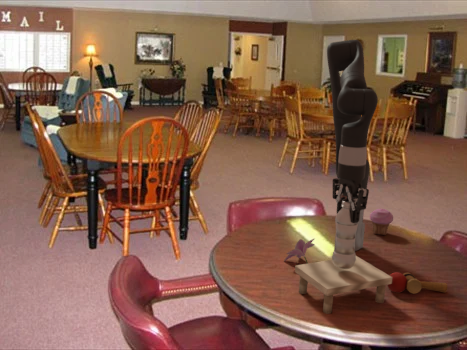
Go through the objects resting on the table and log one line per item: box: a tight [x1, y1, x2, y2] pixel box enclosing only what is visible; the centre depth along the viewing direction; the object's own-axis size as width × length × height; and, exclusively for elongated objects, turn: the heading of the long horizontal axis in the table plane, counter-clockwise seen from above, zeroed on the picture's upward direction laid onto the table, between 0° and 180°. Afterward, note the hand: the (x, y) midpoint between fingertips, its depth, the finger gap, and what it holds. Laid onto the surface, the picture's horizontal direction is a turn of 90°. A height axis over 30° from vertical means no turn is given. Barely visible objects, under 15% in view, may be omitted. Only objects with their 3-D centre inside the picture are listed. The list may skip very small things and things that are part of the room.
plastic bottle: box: [331, 199, 359, 269], centre depth 162 cm, size 6×7×20 cm
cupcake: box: [369, 207, 394, 236], centre depth 220 cm, size 9×9×10 cm
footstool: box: [294, 255, 392, 315], centre depth 165 cm, size 22×17×8 cm
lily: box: [283, 238, 315, 264], centre depth 189 cm, size 12×12×10 cm
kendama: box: [387, 271, 448, 295], centre depth 171 cm, size 8×6×18 cm
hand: (347, 218), depth 161 cm, fingers closed on plastic bottle, 6 cm apart
